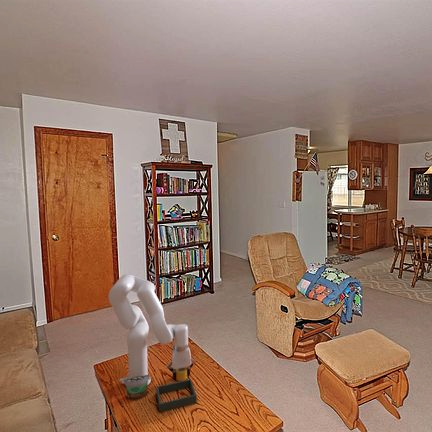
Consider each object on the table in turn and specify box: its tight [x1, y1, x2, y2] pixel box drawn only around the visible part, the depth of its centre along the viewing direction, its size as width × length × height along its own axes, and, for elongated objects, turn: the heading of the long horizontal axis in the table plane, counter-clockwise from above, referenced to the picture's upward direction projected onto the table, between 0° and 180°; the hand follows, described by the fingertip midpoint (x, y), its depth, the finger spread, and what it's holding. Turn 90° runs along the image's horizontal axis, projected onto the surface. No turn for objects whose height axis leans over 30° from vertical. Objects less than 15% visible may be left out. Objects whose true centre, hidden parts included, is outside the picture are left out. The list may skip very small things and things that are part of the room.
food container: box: [123, 373, 150, 400], centre depth 175 cm, size 12×6×10 cm, turn 118°
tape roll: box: [175, 367, 188, 382], centre depth 194 cm, size 7×7×5 cm
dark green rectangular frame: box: [156, 378, 197, 413], centre depth 175 cm, size 18×16×4 cm
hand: (181, 376), depth 194 cm, fingers closed on tape roll, 6 cm apart
